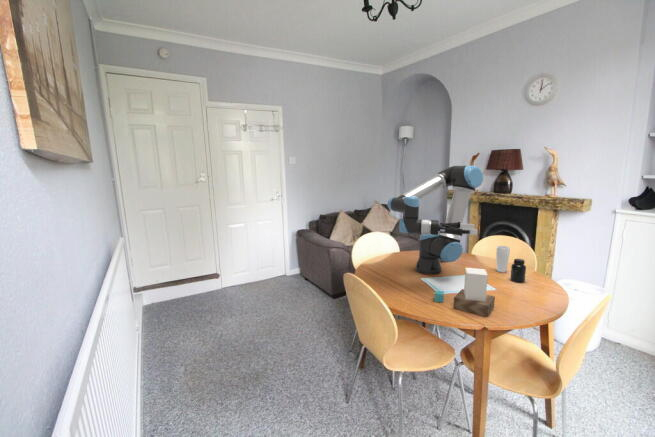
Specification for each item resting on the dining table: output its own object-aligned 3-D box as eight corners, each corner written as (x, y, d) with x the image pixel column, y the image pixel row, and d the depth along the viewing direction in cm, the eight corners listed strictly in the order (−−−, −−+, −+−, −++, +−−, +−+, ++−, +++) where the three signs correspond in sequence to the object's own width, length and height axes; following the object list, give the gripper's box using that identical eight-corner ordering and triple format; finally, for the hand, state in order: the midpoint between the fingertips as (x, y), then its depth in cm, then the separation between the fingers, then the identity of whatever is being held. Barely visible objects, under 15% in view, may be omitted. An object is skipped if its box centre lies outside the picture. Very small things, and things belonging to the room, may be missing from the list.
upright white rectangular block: (465, 299, 135) (467, 273, 133) (463, 292, 142) (465, 267, 140) (485, 301, 132) (487, 275, 130) (483, 294, 140) (484, 269, 138)
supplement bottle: (526, 283, 165) (529, 262, 163) (512, 282, 167) (514, 261, 165) (521, 278, 172) (523, 258, 170) (508, 278, 173) (510, 257, 171)
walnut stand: (453, 307, 138) (454, 297, 137) (461, 298, 147) (462, 289, 146) (487, 317, 129) (488, 305, 128) (494, 306, 138) (494, 296, 138)
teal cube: (434, 301, 145) (434, 293, 144) (434, 298, 149) (434, 290, 148) (443, 302, 144) (443, 294, 143) (443, 299, 147) (443, 291, 147)
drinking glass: (492, 269, 188) (494, 245, 185) (503, 269, 188) (505, 245, 186) (499, 273, 181) (501, 248, 178) (510, 272, 182) (512, 248, 179)
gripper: (430, 229, 170) (472, 231, 163) (429, 239, 147) (478, 242, 140) (430, 216, 169) (473, 217, 162) (430, 224, 146) (479, 226, 139)
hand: (475, 229), depth 151 cm, fingers open, 13 cm apart
